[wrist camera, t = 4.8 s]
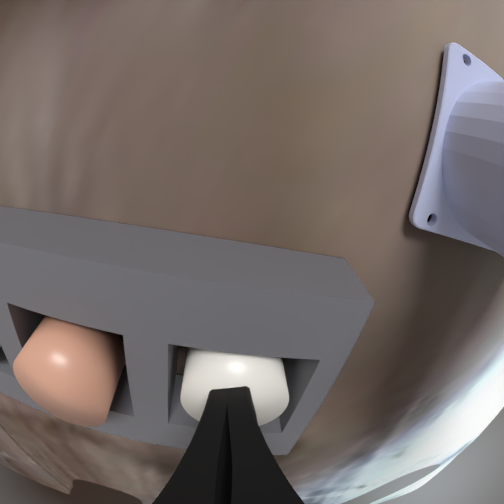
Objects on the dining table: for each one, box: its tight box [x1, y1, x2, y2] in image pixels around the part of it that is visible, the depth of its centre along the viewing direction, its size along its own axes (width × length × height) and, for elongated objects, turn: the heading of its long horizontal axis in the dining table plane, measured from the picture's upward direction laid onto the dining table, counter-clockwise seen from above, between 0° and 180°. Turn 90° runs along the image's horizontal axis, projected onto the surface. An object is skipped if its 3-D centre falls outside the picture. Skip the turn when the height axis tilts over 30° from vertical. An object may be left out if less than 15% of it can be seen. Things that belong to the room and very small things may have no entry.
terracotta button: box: [13, 315, 126, 427], centre depth 9 cm, size 4×4×3 cm
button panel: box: [0, 206, 375, 455], centre depth 10 cm, size 20×10×3 cm, turn 79°
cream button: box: [180, 347, 289, 426], centre depth 11 cm, size 4×4×3 cm
